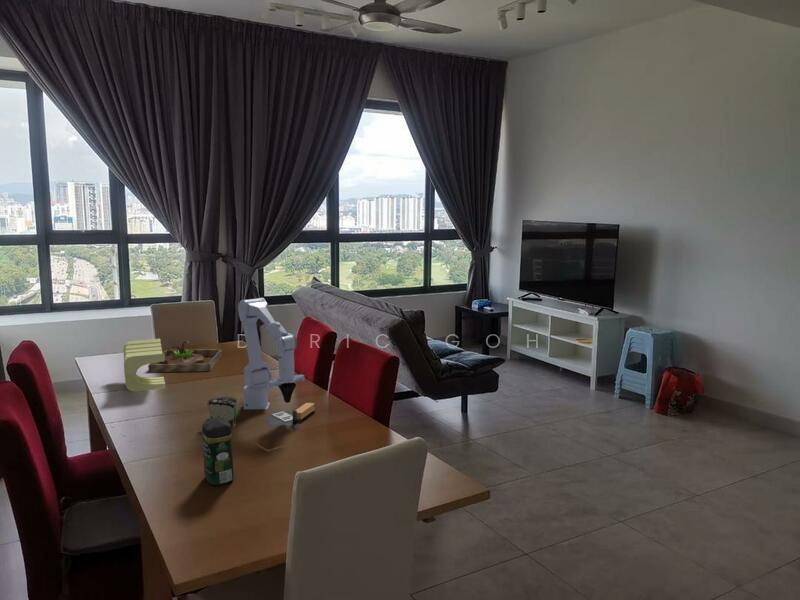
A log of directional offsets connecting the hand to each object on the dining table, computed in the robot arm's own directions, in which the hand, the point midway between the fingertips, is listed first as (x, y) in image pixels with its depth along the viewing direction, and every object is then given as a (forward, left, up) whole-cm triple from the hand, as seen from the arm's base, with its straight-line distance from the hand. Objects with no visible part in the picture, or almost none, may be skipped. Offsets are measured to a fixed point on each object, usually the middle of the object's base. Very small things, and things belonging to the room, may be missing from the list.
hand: (287, 401), depth 232 cm
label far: (-3, +4, -7) cm, 8 cm away
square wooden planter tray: (-58, +84, -7) cm, 102 cm away
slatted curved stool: (-67, +47, -8) cm, 82 cm away
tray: (-1, +1, -7) cm, 8 cm away
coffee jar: (-16, -48, -8) cm, 51 cm away
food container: (-22, -3, -8) cm, 23 cm away
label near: (0, 0, -7) cm, 7 cm away
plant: (-60, +87, -8) cm, 106 cm away
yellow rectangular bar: (+6, +3, -6) cm, 9 cm away
